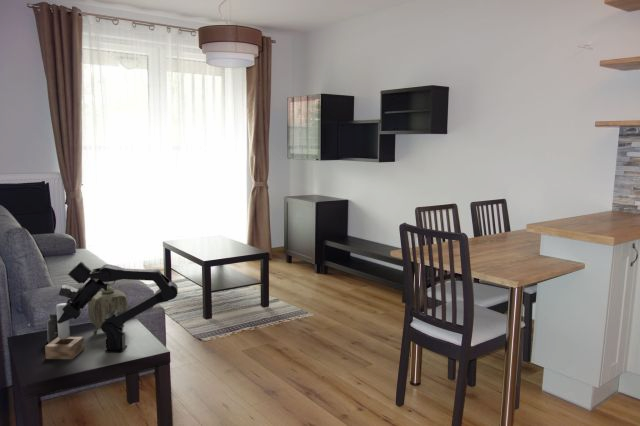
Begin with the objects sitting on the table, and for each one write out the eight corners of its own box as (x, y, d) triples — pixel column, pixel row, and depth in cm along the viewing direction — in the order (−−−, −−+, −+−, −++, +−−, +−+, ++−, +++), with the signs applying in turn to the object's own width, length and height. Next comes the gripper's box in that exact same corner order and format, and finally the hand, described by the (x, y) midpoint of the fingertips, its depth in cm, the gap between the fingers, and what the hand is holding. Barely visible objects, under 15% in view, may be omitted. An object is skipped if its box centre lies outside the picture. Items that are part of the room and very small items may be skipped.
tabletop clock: (122, 325, 232) (120, 271, 228) (130, 331, 225) (128, 275, 222) (89, 333, 222) (86, 277, 218) (97, 339, 215) (94, 281, 212)
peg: (72, 336, 200) (70, 304, 198) (62, 339, 197) (60, 307, 195) (66, 334, 202) (64, 302, 200) (56, 337, 199) (54, 305, 197)
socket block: (84, 348, 206) (83, 336, 205) (71, 359, 196) (71, 346, 195) (59, 348, 206) (58, 336, 205) (45, 358, 196) (45, 346, 195)
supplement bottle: (58, 344, 210) (56, 316, 208) (44, 343, 211) (42, 315, 209) (70, 338, 216) (68, 310, 215) (55, 337, 218) (54, 309, 216)
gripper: (75, 272, 206) (47, 300, 205) (67, 284, 188) (35, 316, 187) (98, 289, 209) (70, 318, 208) (91, 303, 192) (61, 334, 190)
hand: (59, 321), depth 198 cm, fingers closed on peg, 4 cm apart
